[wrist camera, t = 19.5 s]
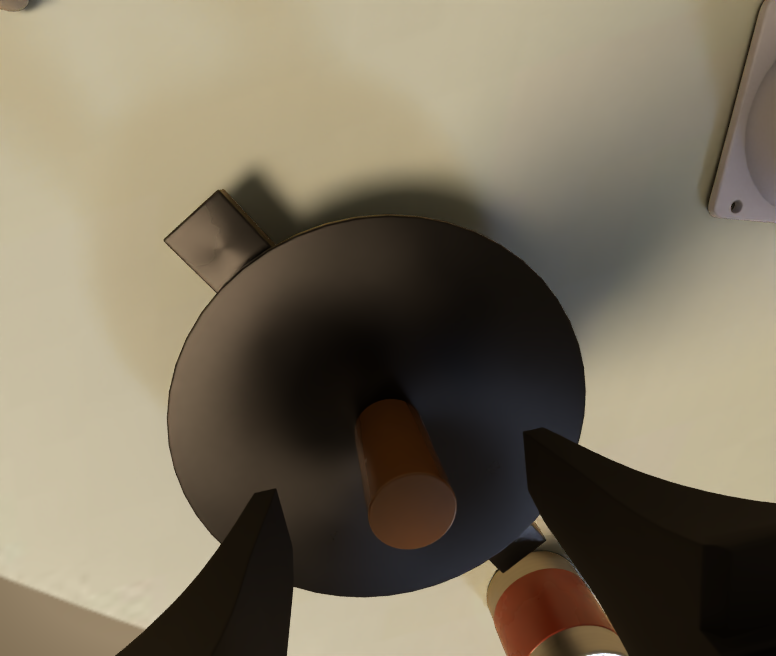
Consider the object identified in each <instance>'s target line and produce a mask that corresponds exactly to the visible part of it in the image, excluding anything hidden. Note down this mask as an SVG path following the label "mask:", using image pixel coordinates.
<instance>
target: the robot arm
mask: <svg viewBox="0 0 776 656" xmlns="http://www.w3.org/2000/svg"><path fill="white" fill-rule="evenodd" d="M733 202H735V207H734V209H733V210H732V211H731V205H732V203H733ZM708 210H709V213H710V214H711V215H712V216H713V217H716V218H726V219H737V220H748V221H759V222H771V223H776V0H765V1H764V3H763V4H762V6H761V8H760V11H759V15H758V19H757V23H756V26H755V30H754V34H753V38H752V42H751V45H750V49H749V53H748V57H747V61H746V64H745V68H744V72H743V76H742V79H741V83H740V87H739V91H738V95H737V98H736V102H735V106H734V110H733V113H732V117H731V121H730V125H729V129H728V132H727V136H726V140H725V144H724V148H723V151H722V155H721V159H720V163H719V166H718V170H717V174H716V178H715V182H714V185H713V189H712V193H711V197H710V201H709V205H708ZM523 442H524V453H525V464H526V475H527V486H528V492H529V494H530V496H531V498H532V500H533V502H534V504H535V506H536V507H537V509H538V511H539V513H540V515H541V517H542V519H543V520H544V522H545V523H546V525H547V526H548V528H549V529H550V531H551V532H552V534H553V535H554V537H555V538H556V539H557V541H558V542H559V544H560V545H561V547H562V548H563V549H564V551H565V552H566V554H567V555H568V557H569V558H570V559H571V561H572V562H573V564H574V565H575V567H576V568H577V569H578V571H579V572H580V574H581V575H582V576H583V578H584V579H585V581H586V582H587V584H588V585H589V587H590V588H591V590H592V591H593V593H594V594H595V596H596V598H597V599H598V601H599V603H600V604H601V606H602V608H603V610H604V612H605V613H606V615H607V617H608V619H609V620H610V622H611V624H612V626H613V628H614V629H615V631H616V633H617V635H618V637H619V638H620V640H621V642H622V644H623V646H624V648H625V650H626V652H627V653H628V655H629V656H776V503H769V502H761V501H754V500H748V499H742V498H737V497H731V496H726V495H721V494H716V493H711V492H707V491H703V490H699V489H695V488H691V487H687V486H683V485H679V484H676V483H672V482H669V481H666V480H663V479H660V478H657V477H654V476H651V475H648V474H645V473H642V472H640V471H637V470H634V469H632V468H629V467H627V466H624V465H622V464H620V463H617V462H615V461H612V460H610V459H608V458H606V457H603V456H601V455H599V454H597V453H595V452H593V451H591V450H589V449H587V448H585V447H582V446H580V445H578V444H576V443H574V442H572V441H570V440H568V439H566V438H565V437H563V436H561V435H559V434H557V433H554V432H552V431H550V430H548V429H546V428H544V427H541V428H536V429H532V430H528V431H523ZM293 584H294V569H293V546H292V542H291V539H290V535H289V532H288V528H287V525H286V521H285V517H284V514H283V510H282V507H281V503H280V500H279V496H278V493H277V489H276V488H274V489H270V490H265V491H261V492H257V493H254V494H253V496H252V497H251V499H250V500H249V502H248V503H247V505H246V507H245V508H244V510H243V511H242V513H241V515H240V516H239V518H238V519H237V521H236V522H235V524H234V526H233V527H232V529H231V530H230V532H229V533H228V535H227V536H226V538H225V539H224V540H223V542H222V543H221V545H220V546H219V548H218V549H217V551H216V552H215V553H214V555H213V556H212V557H211V559H210V560H209V561H208V563H207V564H206V565H205V567H204V568H203V569H202V571H201V572H200V573H199V574H198V576H197V577H196V578H195V579H194V580H193V581H192V583H191V584H190V585H189V586H188V587H187V588H186V589H185V591H184V592H183V593H182V594H181V595H180V596H179V597H178V598H177V599H176V600H175V601H174V603H173V604H172V605H171V606H170V607H169V608H167V609H166V610H165V611H164V612H163V613H162V614H161V615H160V616H159V617H158V618H157V619H156V620H155V621H154V622H153V623H152V624H151V625H150V626H149V627H148V628H147V629H146V630H145V631H144V632H143V633H141V634H140V635H139V636H138V637H137V638H136V639H135V640H133V641H132V642H131V643H130V644H129V645H128V646H126V648H124V649H123V650H122V651H120V652H119V653H118V654H117V655H115V656H287V648H288V638H289V627H290V617H291V607H292V596H293Z"/></svg>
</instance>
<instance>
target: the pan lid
mask: <svg viewBox="0 0 776 656" xmlns="http://www.w3.org/2000/svg"><path fill="white" fill-rule="evenodd" d="M585 395H586V389H585V376H584V366H583V362H582V357H581V353H580V348H579V344H578V341H577V338H576V336H575V333H574V331H573V328H572V325H571V323H570V320H569V318H568V317H567V315H566V313H565V311H564V310H563V308H562V306H561V304H560V302H559V301H558V299H557V298H556V296H555V295H554V294H553V292H552V291H551V290H550V289H549V287H548V286H547V285H546V283H545V282H544V281H543V279H542V278H541V277H540V276H539V275H537V274H536V273H535V272H534V271H533V270H532V269H531V268H530V267H529V266H528V265H527V264H526V263H525V262H524V261H523V260H521V259H520V258H519V257H517V256H516V255H514V254H513V253H512V252H510V251H509V250H507V249H506V248H505V247H503V246H502V245H500V244H498V243H496V242H494V241H492V240H491V239H489V238H487V237H485V236H483V235H481V234H479V233H477V232H475V231H472V230H469V229H466V228H463V227H460V226H457V225H454V224H452V223H449V222H446V221H441V220H436V219H431V218H426V217H420V216H413V215H394V214H381V215H369V216H356V217H352V218H347V219H342V220H338V221H333V222H329V223H325V224H322V225H319V226H316V227H314V228H311V229H308V230H305V231H303V232H300V233H297V234H295V235H293V236H291V237H289V238H287V239H286V240H284V241H282V242H280V243H278V244H276V245H274V246H272V247H270V248H269V249H267V250H266V251H264V252H263V253H262V254H260V255H259V256H257V257H256V258H255V259H253V260H252V261H250V262H249V263H247V264H246V265H245V266H244V267H242V268H241V269H240V270H239V271H238V272H237V273H236V274H235V275H234V276H233V277H232V278H231V279H230V280H229V281H228V282H226V283H225V284H224V285H223V286H222V287H221V289H220V290H219V291H218V292H217V294H216V295H215V296H214V297H213V299H212V300H211V301H210V302H209V304H208V305H207V306H206V307H205V309H204V310H203V311H202V312H201V314H200V316H199V318H198V319H197V321H196V323H195V324H194V326H193V328H192V329H191V331H190V333H189V334H188V336H187V338H186V340H185V343H184V345H183V348H182V350H181V353H180V355H179V357H178V360H177V362H176V365H175V369H174V373H173V378H172V382H171V386H170V390H169V399H168V411H167V427H168V442H169V448H170V453H171V457H172V461H173V466H174V470H175V473H176V475H177V478H178V480H179V483H180V485H181V488H182V490H183V493H184V495H185V497H186V498H187V500H188V502H189V504H190V505H191V507H192V509H193V510H194V512H195V514H196V516H197V517H198V518H199V519H200V521H201V522H202V523H203V524H204V526H205V527H206V528H207V530H208V531H209V532H210V533H211V535H212V536H214V537H215V538H216V539H217V540H218V541H219V542H220V543H222V542H223V540H224V539H225V538H226V536H227V535H228V533H229V532H230V530H231V529H232V527H233V526H234V524H235V522H236V521H237V519H238V518H239V516H240V515H241V513H242V511H243V510H244V508H245V507H246V505H247V503H248V502H249V500H250V499H251V497H252V496H253V494H254V493H257V492H261V491H265V490H270V489H274V488H276V489H277V493H278V496H279V500H280V503H281V507H282V510H283V514H284V517H285V521H286V525H287V528H288V532H289V535H290V539H291V542H292V546H293V569H294V584H293V587H297V588H300V589H304V590H308V591H311V592H315V593H321V594H328V595H334V596H344V597H377V596H390V595H396V594H402V593H407V592H413V591H417V590H420V589H424V588H427V587H431V586H434V585H437V584H440V583H443V582H445V581H448V580H450V579H453V578H455V577H458V576H460V575H462V574H464V573H466V572H468V571H470V570H472V569H473V568H475V567H477V566H479V565H481V564H482V563H484V562H485V561H487V560H489V559H490V558H492V557H493V556H495V555H496V554H498V553H499V552H501V551H502V550H503V549H504V548H506V547H507V546H508V545H509V544H510V543H512V542H513V541H514V540H515V539H517V538H518V537H519V536H520V535H521V534H522V533H523V532H524V531H525V530H526V529H527V528H528V527H529V526H530V525H531V524H532V523H533V522H534V521H535V520H536V518H537V517H538V516H539V515H540V513H539V511H538V509H537V507H536V506H535V504H534V502H533V500H532V498H531V496H530V494H529V492H528V486H527V475H526V464H525V453H524V442H523V431H528V430H532V429H536V428H541V427H544V428H546V429H548V430H550V431H552V432H554V433H557V434H559V435H561V436H563V437H565V438H566V439H568V440H570V441H572V442H574V443H576V444H578V442H579V439H580V435H581V429H582V424H583V419H584V412H585Z"/></svg>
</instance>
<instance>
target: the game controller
mask: <svg viewBox="0 0 776 656" xmlns="http://www.w3.org/2000/svg"><path fill="white" fill-rule="evenodd" d="M28 2H29V0H0V9H1V10H6V11H11V12H15V11H19V10H22V9H23V8H25V7H26V6H27V4H28Z"/></svg>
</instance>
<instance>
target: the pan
mask: <svg viewBox="0 0 776 656" xmlns="http://www.w3.org/2000/svg"><path fill="white" fill-rule="evenodd" d="M164 242H165V243H166V244H167V245H168V246H169V247H170V248H171V249H172V250H173V251H174V252H175V253H176V254H177V255H178V256H179V257H180V258H181V259H182V260H183V261H184V262H185V263H186V264H187V265H189V266H190V267H191V268H192V269H193V270H194V271H195V272H196V273H197V274H198V275H199V276H200V277H201V278H202V279H203V280H204V281H205V282H206V283H207V284H208V285H209V286H210V287H211V288H212V289H213V290H214V291H215V292H216V293H217V292H218V291H219V290H220V289H221V287H222V286H223V285H224V284H225V283H226V282H228V281H229V280H230V279H231V278H232V277H233V276H234V275H235V274H236V273H237V272H238V271H239V270H240V269H241V268H242V267H244V266H245V265H246V264H247V263H249V262H250V261H252V260H253V259H255V258H256V257H257V256H259V255H260V254H262V253H263V252H264V251H266V250H267V249H269V248H270V247H272V246H274V245H276V244H275V243H274V242H273V241H272V240H271V239H270V238H269V237H268V236H267V235H266V234H265V233H264V232H263V230H262V229H261V228H260V227H259V226H258V225H257V224H256V223H255V222H254V221H253V220H252V219H251V218H250V216H249V215H248V214H247V213H246V212H245V211H244V210H243V209H242V208H241V207H240V206H239V205H238V204H237V203H236V201H235V200H234V199H233V198H232V197H231V196H230V195H229V194H228V193H227V192H226V191H225V190H224V189H221V190H217V191H216V192H215V193H214V194H213V195H211V196H210V197H209V198H208V199H207V200H206V201H205V202H204V203H203V204H202V205H201V206H199V207H198V208H197V209H196V210H195V211H194V212H193V213H192V214H191V215H190V216H188V217H187V218H186V219H185V220H184V221H183V222H182V223H181V224H180V225H179V226H178V227H176V228H175V229H174V230H173V231H172V232H171V233H170V234H169V235H168V236H167V237H166V238H164ZM545 541H546V539H545V537H544V536H543V534H542V532H541V531H540V529H539V528H538V526H537V525H536V524H535V523H534V522H533V523H532V524H531V525H530V526H529V527H528V528H527V529H526V530H525V531H524V532H523V533H522V534H521V535H520V536H519V537H518V538H517V539H515V540H514V541H513V542H512V543H510V544H509V545H508V546H507V547H506V548H504V549H503V550H502V551H501V552H499V553H498V554H496V555H495V556H493V557H492V558H490V559H489V560H490V561H491V562H492V563H493V564H494V565H495V566H496V567H497V568H498V569H499V570H500V571H501V572H502V573H505V572H506V571H508V570H509V569H510V568H511V567H513V566H514V565H515V564H517V563H518V562H519V561H520V560H522V559H523V558H524V557H526V556H527V555H528V554H529V553H531V552H532V551H533V550H535V549H536V548H537V547H539V546H540V545H541V544H542V543H544V542H545Z"/></svg>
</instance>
